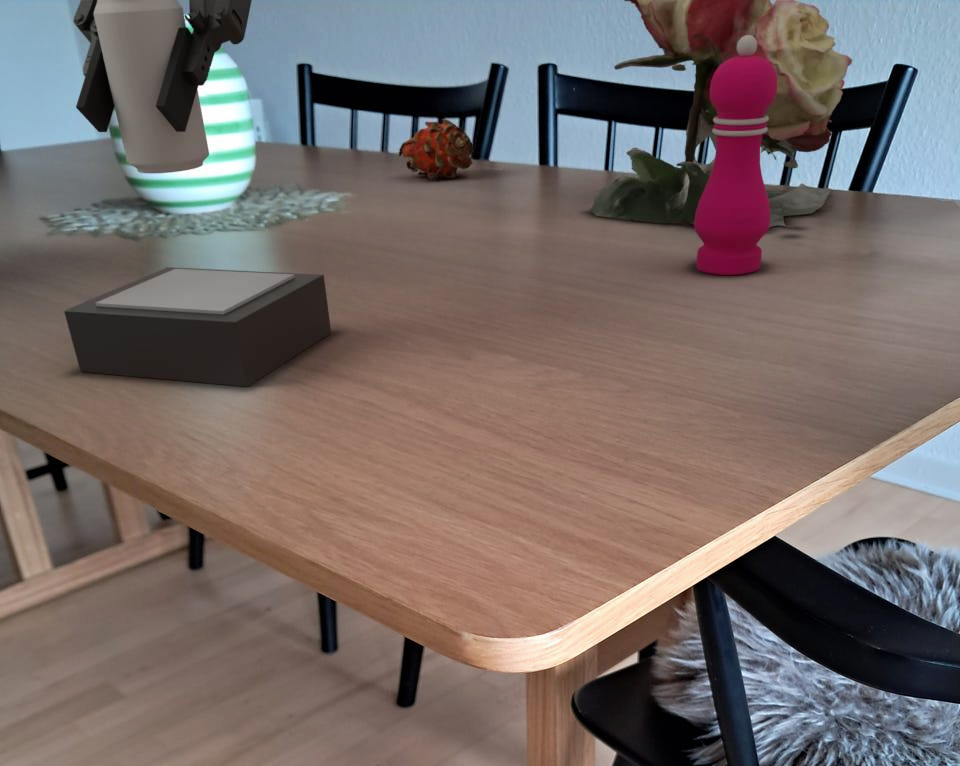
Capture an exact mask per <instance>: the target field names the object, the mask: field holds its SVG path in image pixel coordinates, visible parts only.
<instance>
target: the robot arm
mask: <svg viewBox="0 0 960 766" xmlns="http://www.w3.org/2000/svg"><path fill="white" fill-rule="evenodd" d="M188 2H189V4H188V5H189V6H188V7H189V12H188V13H187V14H184V19H185V21H187V23H188V24H189V26H190V27H191V28H192V29H193V30H192V32H191V30H190V29H189V28H188V27H187V26H186V27H184V28H179V29H178V32H177V35H176V39H175V42H174V45H173V49H172V52H171V56H170V59H169V62H168V66H167V69H166V73H165V76H164V79H163V83H162V86H161V90H160V93H159V96H158V100H157V103H156V107H157V109H158V110H159V111H160V112H161V113H162V115H163V116H164V117H165V118H166V120H167V121H168V122H169V123H170V124H171V126H172V127H173V128H174V129H175V130H176V132H185V130H186V127H187V123H188V120H189V116H190V113H191V110H192V106H193V103H194V99H195V96H196V92H197V89H198V88H199V86H200V87H201V86H204V85H205V83H206V82H207V81H208V77H209V74H210V70H211V66H212V63H213V60H214V56H215V53H216V52H218V51H220V49H221V47H222V44H224V43H228V42H230V43H231V44H232V45H239V44H241V43H242V42H243V41H244V39H245V36H246V32H247V31H246V30H247V26H248V21H249V16H250V10H251V5H252V0H188ZM96 4H97V0H80V1H79V4H78V7H77V8H76V12H75V14H74V17H73V20H72V21H73V22H72V23H73V24H74V25H75V26H76V27H77V29H78V30H79V31H80V32H81V34H82V36H84V37H85V39H86V40H87V41H88V42H89V43H90V44H89V48H88V50H87V54H86V57H85V60H84V63H83V66H82V75H83V76H84V80H83V83H82V85H81V89H80V92H79V94H78V95H79V96H78V99H77V101H76V105H75V108H76V109H77V110H78V112H79V113H80V114H82V116H83V117H84V118H85V119H86V120H87V121H88V123H90V124H91V125H92V126H93V128H94V129H95V130H96V131H97V132H98V133H108V129H109V126H110V123H111V121H112V117H113V113H114V111H115V107H114V102H113V98H112V93H111V89H110V84H109V80H108V76H107V71H106V67H105V62H104V58H103V53H102V49H101V45H100V40H99V36H98V31H97V27H96V22H95V18H94V10H95V7H96Z"/></svg>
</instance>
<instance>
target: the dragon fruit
mask: <svg viewBox="0 0 960 766" xmlns="http://www.w3.org/2000/svg"><path fill="white" fill-rule="evenodd" d="M442 121H443V122H442V123H439V122H438V121H425V122H424V124H425V126H426V127H425V128H420V129H419V130H418V131H416V132H415V133H414V135H413V137H411V138H409V139H408V140H406V141H404V142H403V143H402V144H401V146H400V147H399V149H398V152H397V153H396V154H398V157H399V158H400V157H401V156H402V157H403V158H407V159H408V161H406V164H405V165H406V168H407V169H408V170H410V171H411V172H412V173H417V175H418V176H425V177H426V178H428V179H430V180H431V181H434V180H436V179H437V178H438V177H440V176H441V175H442V176H443V177H445V178H446V179H455V178H456V177H457V171H458V168H459V169H461V170H464V169H468V168H470V167H471V166H472V165H473V163H474V162H473V161H472V157H471V155H472V154H473V153H474V144H473V142H472V141H471V138H470V137H469V135H468V134H467V133H466V132H465V130H464V129H463V128H462V127H460V126H457V125H456V124H455V123H454V122H452V121H451V120H449V119H447V118H442Z"/></svg>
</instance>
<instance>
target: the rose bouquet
mask: <svg viewBox="0 0 960 766" xmlns="http://www.w3.org/2000/svg"><path fill="white" fill-rule="evenodd" d="M623 1H624V2H630V3H631V4H634V7H636V9H637V11H638V12H639V13H640V19H641V20H642V22H643V25H644V26H645V29H646V30H647V32H648V34H650V36H651V37H652V39H653V41H654V42H655V44H656V45H657V47H658V49H662V51H663V54H655V55H649V56H645V57H638V58H632V59H628V60H624V61H621V62H618V63H617V64H615V65H614V66H613V68H614V70H616V71H617V70H621V69H624V68H629V67H636V68H637V67H640V68H659V69H660V68H661V69H663V68H669V67H671V69H672V71H676V72H684V71H685V72H686V71H687V68H686V65H685V64H681V63H685V62H690V61H692V62H693V63H692V66H694V65H695V75H694V79H695V81H694V84H693V89H694V92H693V102H692V105H691V107H690V109H689V115H688V120H687V121H688V122H687V127H686V131H685V136H686V139H685V147H684V158H685V159H684V161H681V162H678V163H676V165H675V166H674V165H673V164H671V163H669V162H667V161H665V160H663V159H661V158H658V157H655V156H654V155H653V154H651V153H650V152H647V151H646V150H645V149H640V148H638V147H632V148H631V149H629V150H627V151H626V152H625V153H626V155H627V156H629V159H630V160H631V168H630V169H631V170H632V171H633V172H634V173H635V174H636V175H637V176H638V177H634V176H633V177H632V176H628V175H625V174H623V175H621V176H619V177H618V178H616V179H614V180H613V182H612V183H610V184H609V185H608V186H607V187H603V188H601V189H600V190H597V191H596V193H595V197H594V200H593V205H592V207H591V208H590V209H589V210H588V211H589V213H591V214H593V215H595V216H596V217H602V218H610V219H615V220H624V221H636V222H647V223H655V224H663V225H665V224H666V223H670V224H673V223H681V222H682V223H687V224H691V225H694V221H695V214H696V210H697V207H698V203H699V200H700V198H701V196H702V194H703V191H704V189H705V187H706V185H707V183H708V180H709V178H710V175H711V172H712V169H713V165H714V160H715V157H714V158H713V159H712V160H711V162H710V163H700V162H698V161H697V160H696V150H697V148H698V146H699V145H701V143H703V142H704V141H705V140H706V139H707V138H708V137H709V138H710V140H711V142H712V145H713V148H714V150H715V151H716V135H715V134H714V133H713V132H712V130H713V128H714V124H715V123H714V122H713V119H714V118H715V117H716V116H718V113H717V110H716V109H715V107H714V106H713V104H712V102H711V100H710V85H711V80H712V78H713V75H714V73H715V71H716V70H717V68H718V67H719V66H720V65H721V64H722V63H723V62H725V61H726V60H728V59H730V58H732V57H736V56H740V55H739V54H738V52H737V44H738V41H739V40H740V39H741V38H742V37H743V36H745V35H751V36H753V37H754V38H755V39H756V41H757V49H756V51H755V53H754V54H753V55H755V56H759V57H762V58H764V59H766V60H767V61H769V62H770V63H771V64H772V65H773V67H774V69H775V71H776V75H777V93H776V96H775V99H774V100H773V102H772V103H771V105H770V106H769V107H768V108H767V109H766V112H765V114H764V115H767V116H768V117H769V120H768V121H767V122H766V123H767V126H766V127H767V129H768V130H767V132H766V133H764V134H763V135H762V141H761V147H760V154H762V153H763V152H766V154H767V155H772V156H773V159H774V160H775V161H777V156H776V155H775V154H774V153H776V152H780V153H782V154H784V155H786V156H787V157H788V158H789V159H790V160H789V161H786V162H783V163H782V164H783V165H784V166H785V167H787V168H790V169H797V168H799V167H798V166H799V164H798V161H797V160H796V158H795V157H794V155H793V154H794V152H800V153H813V152H815V151H819V150H821V149H822V148H823V147H825V146H826V145H827V144H829V143H830V141H831V137H832V136H833V134H832V131H831V130H829V128H828V127H827V125H828V123H832V120H831V119H830V117H831V116H832V114H833V112H834V110H835V109H836V107H837V105H838V104H839V103H840V101H841V99H842V96H843V94H844V91H842V89H843V87H844V86H845V80H844V79H845V77H846V75H847V73H848V68H849V67H850V66H851V65H852V62H853V59H852V58H851V57H850V56H848V55H847V54H842V53H839V52H837V51H835V50H834V49H833V47H835V46H836V45H837V43H836V42H835V37H833V36H831V35H828V34H827V32H828V31H829V28H830V24H829V21H828V20H827V19H826V18H825V17H823V16H822V15H821V14H820V12H821V11H820V10H819V8H818V7H817V6H816V5H814V4H812V5H811V4H808V3H805V2H802V1H797V0H774V1H773V3H772V2H771V0H623ZM575 89H576V88H575V87H573V90H575ZM831 192H832V189H831V188H829V187H825V188H818V187H815V186H809V185H806V184H804V183H803V182H802V183H800V184H799V185H798V186H797V187H795V188H794V189H792V190H785V191H766V193H767V196H768V199H769V205H770V226H769V228H771V227H776V226H780V227H789V228H793V225H792V226H791V225H786V224H785V222H784V216H785V217H786V216H798V215H799V216H800V215H810V214H813V213H814V212H816V211H817V210H819V209H820V208H822V207H823V206H824V204H826V201H827V199H828V196H829V195H830V193H831ZM791 235H792V234H791Z"/></svg>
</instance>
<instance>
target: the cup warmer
mask: <svg viewBox="0 0 960 766" xmlns="http://www.w3.org/2000/svg"><path fill="white" fill-rule="evenodd" d="M327 297H328V296H327V290H326V282H325V274H317V273H299V272H298V273H297V272H295V273H294V272H277V271H276V272H275V271H256V270H255V271H254V270H252V271H251V270H233V269H232V270H231V269H215V268H214V269H213V268H209V269H208V268H192V267H191V268H190V267H168V266H167V267H165V268H162V269H160V270H157V271H155V272H152V273H150V274H148V275H145V276H143V277H141V278H138V279H136V280H134V281H131V282H129V283H127V284H124V285H121V286H119V287H117V288H115V289H112V290H110V291H107V292H105V293H103V294H101V295H98V296H96V297H93V298H91V299H88V300H86V301H83V302H81V303H79V304H77V305H74V306H72V307H69V308H67V309H64V310H63V312H64V313H63V314H64V317H65V321H66V324H67V327H68V331H69V334H70V338H71V342H72V347H73V350H74V352H75V357H76V360H77V364H78V368H79V371H80V373H90V374H103V375H113V376H124V377H135V378H145V379H146V378H147V379H158V380H168V381H169V380H170V381H179V382H192V383H201V384H202V383H203V384H212V385H213V384H214V385H224V386H235V387H236V386H237V387H247V388H248V387H250V386H251V385H252V384H254V383H256V382H257V381H258V380H260V379H261V378H263V377H265V376H267V375H268V374H270V373H271V372H273V371H274V370H276V369H277V368H279V367H280V366H282V365H284V364H285V363H287V362H288V361H290V360H291V359H293V358H294V357H296V356H297V355H299V354H301V353H303V352H304V351H305V350H307V349H309V348H310V347H311V346H313V345H315V344H317V343H318V342H319V341H322V340H323V339H324V338H326V337H327V336H329V335H331V334H332V327H331V320H330V311H329V304H328V298H327Z"/></svg>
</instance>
